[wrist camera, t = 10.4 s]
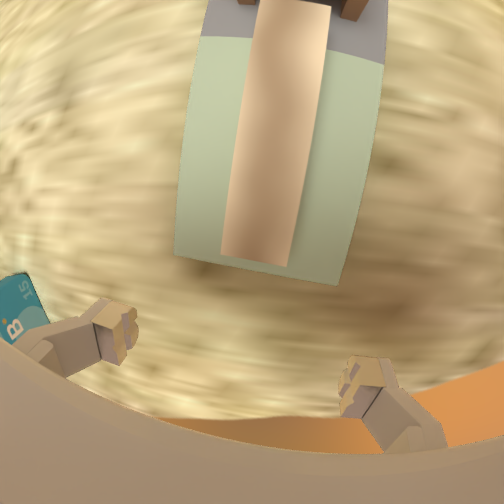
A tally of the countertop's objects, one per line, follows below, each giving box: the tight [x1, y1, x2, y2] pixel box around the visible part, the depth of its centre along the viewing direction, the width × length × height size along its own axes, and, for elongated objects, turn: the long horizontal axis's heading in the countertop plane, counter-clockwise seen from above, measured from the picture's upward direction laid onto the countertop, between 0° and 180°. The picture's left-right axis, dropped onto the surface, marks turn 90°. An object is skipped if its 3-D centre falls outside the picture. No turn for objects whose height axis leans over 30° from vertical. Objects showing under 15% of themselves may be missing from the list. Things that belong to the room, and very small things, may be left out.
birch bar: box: [220, 0, 331, 267], centre depth 16 cm, size 4×16×4 cm, turn 171°
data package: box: [0, 274, 50, 345], centre depth 25 cm, size 12×4×12 cm, turn 11°
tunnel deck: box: [173, 0, 388, 286], centre depth 13 cm, size 13×35×9 cm, turn 171°
